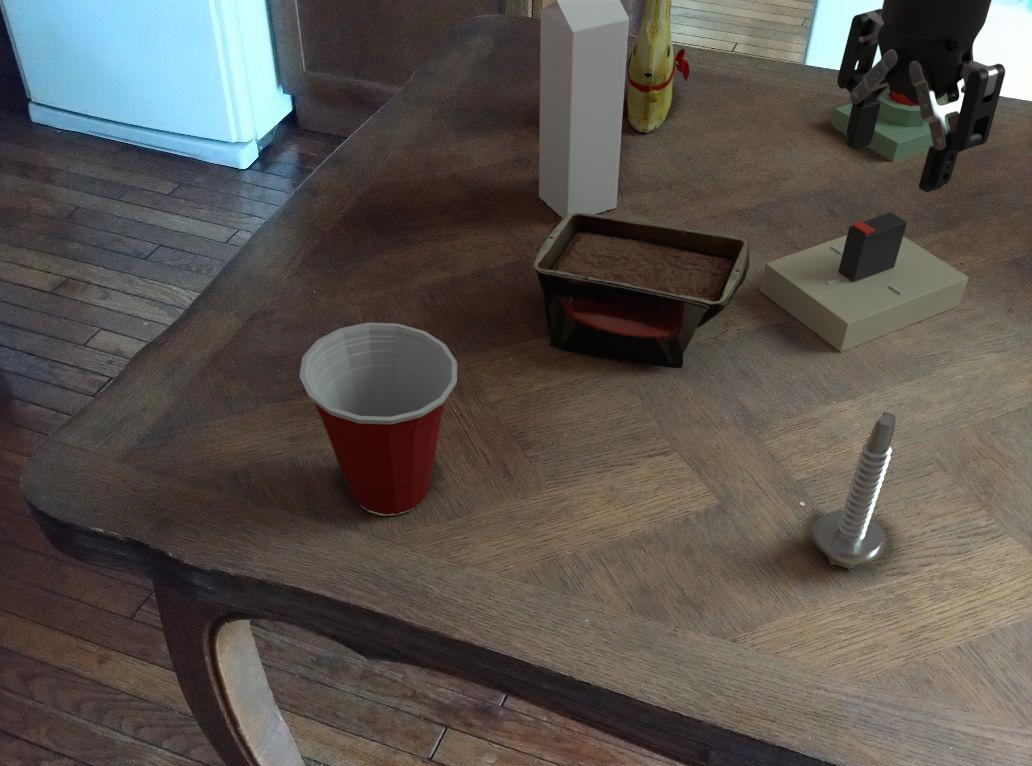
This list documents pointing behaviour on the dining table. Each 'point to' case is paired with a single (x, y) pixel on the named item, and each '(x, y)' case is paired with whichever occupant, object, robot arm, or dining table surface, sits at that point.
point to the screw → (859, 505)
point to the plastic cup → (381, 408)
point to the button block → (894, 128)
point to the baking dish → (634, 286)
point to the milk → (581, 104)
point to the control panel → (861, 292)
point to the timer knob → (872, 246)
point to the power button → (902, 99)
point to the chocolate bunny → (653, 68)
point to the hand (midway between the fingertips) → (893, 166)
